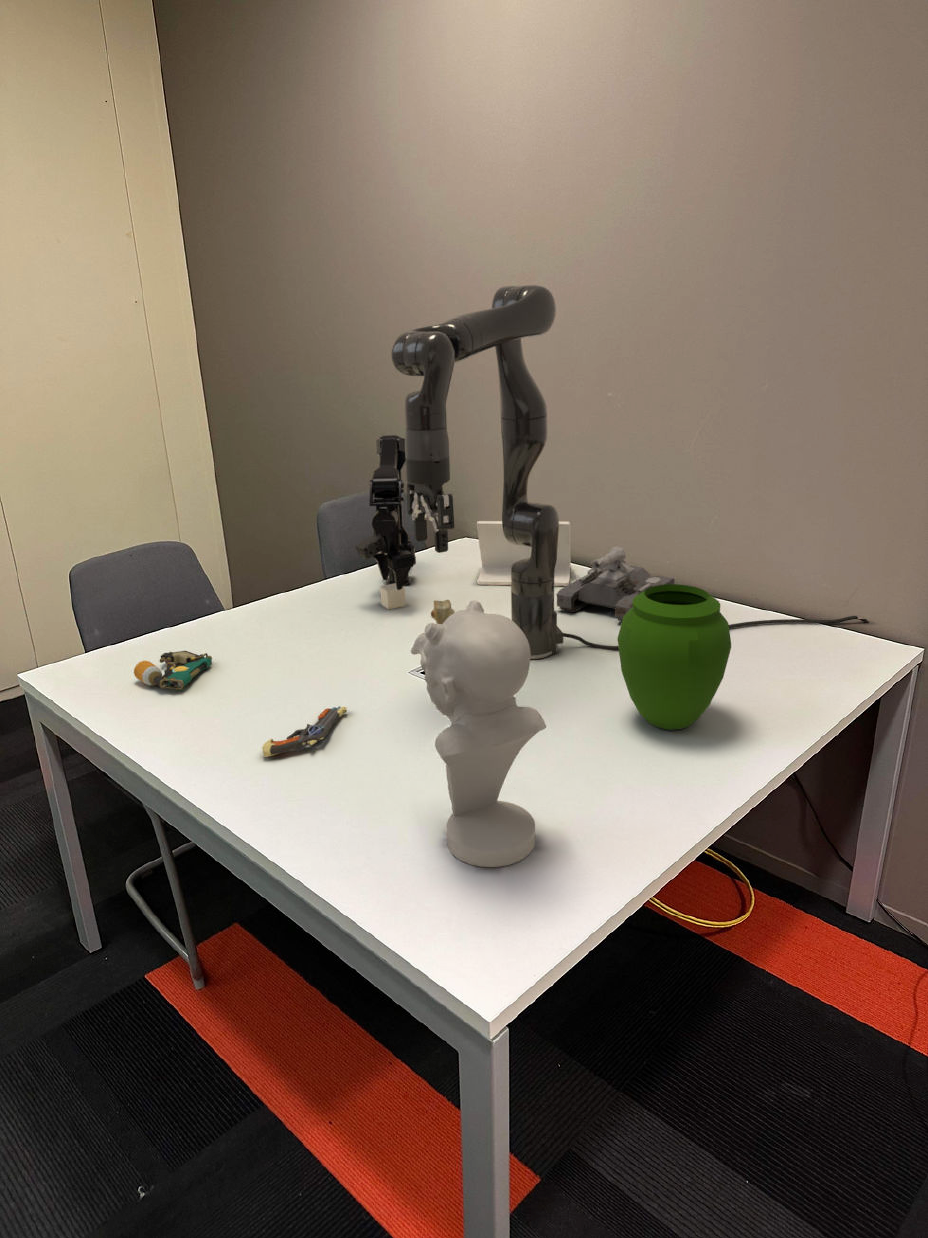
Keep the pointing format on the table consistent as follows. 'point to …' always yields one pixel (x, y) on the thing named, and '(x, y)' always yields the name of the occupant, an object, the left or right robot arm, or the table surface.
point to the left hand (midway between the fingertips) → (392, 584)
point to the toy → (609, 585)
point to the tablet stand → (516, 554)
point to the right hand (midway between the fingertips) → (431, 546)
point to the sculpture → (441, 611)
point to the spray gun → (172, 669)
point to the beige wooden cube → (392, 596)
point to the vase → (673, 653)
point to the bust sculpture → (481, 729)
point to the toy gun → (305, 733)
